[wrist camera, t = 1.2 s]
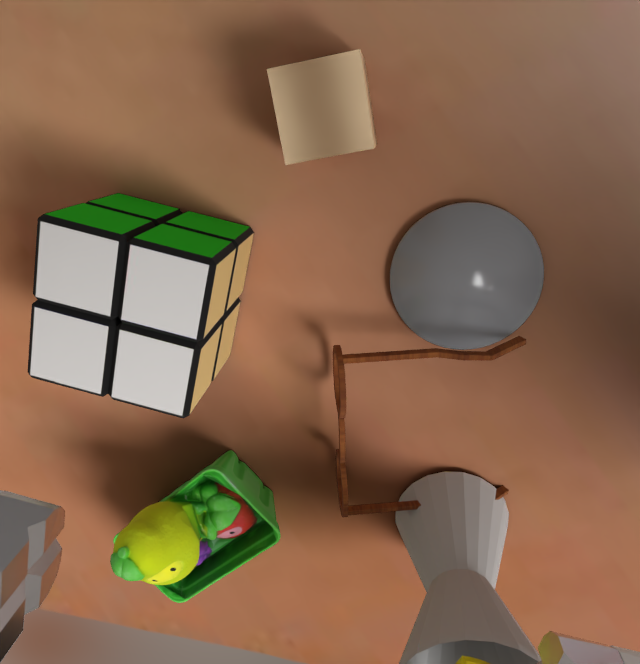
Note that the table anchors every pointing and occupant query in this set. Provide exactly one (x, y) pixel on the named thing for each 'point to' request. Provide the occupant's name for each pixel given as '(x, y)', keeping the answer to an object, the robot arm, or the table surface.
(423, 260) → the slate coaster
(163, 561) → the fruit basket
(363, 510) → the bent wire
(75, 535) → the table surface
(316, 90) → the oak block
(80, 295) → the puzzle cube
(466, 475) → the lava lamp
